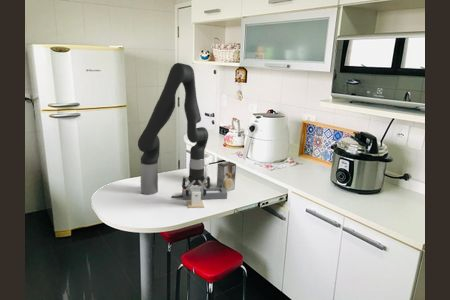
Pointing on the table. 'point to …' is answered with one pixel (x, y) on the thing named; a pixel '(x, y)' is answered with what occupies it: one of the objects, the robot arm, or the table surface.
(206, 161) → the cup
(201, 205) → the cork mat
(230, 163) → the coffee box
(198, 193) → the charger
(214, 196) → the power strip
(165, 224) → the table surface
